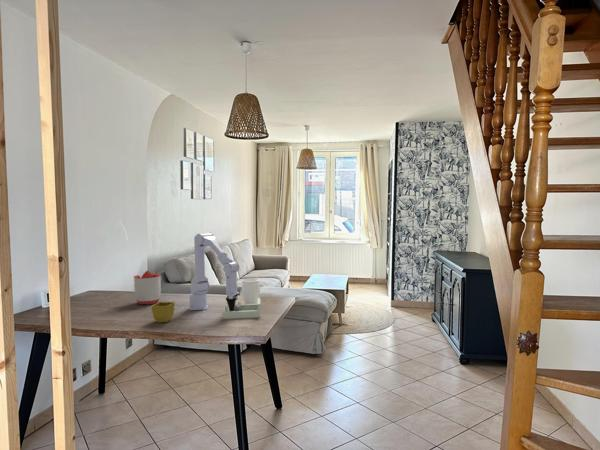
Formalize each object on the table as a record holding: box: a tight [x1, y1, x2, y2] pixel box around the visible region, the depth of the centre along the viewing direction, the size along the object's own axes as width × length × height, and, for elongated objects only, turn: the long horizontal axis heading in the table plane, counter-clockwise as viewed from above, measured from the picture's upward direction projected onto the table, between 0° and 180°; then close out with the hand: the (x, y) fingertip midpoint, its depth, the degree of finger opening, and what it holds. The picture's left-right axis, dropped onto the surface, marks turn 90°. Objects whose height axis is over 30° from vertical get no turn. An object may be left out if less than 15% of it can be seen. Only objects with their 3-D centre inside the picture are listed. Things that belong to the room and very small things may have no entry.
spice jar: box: [226, 295, 238, 311], centre depth 214 cm, size 6×6×9 cm
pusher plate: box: [237, 301, 242, 311], centre depth 214 cm, size 2×11×5 cm, turn 6°
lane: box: [222, 297, 262, 320], centre depth 215 cm, size 20×15×7 cm
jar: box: [241, 278, 261, 305], centre depth 236 cm, size 11×10×15 cm
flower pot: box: [150, 301, 175, 323], centre depth 204 cm, size 9×9×9 cm
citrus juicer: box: [133, 270, 162, 305], centre depth 245 cm, size 16×17×20 cm
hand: (232, 309), depth 214 cm, fingers closed on spice jar, 5 cm apart
